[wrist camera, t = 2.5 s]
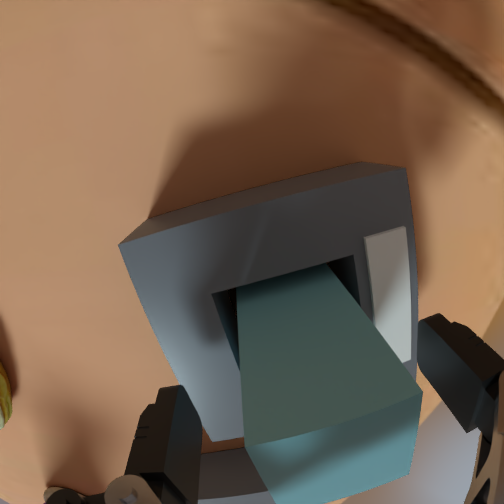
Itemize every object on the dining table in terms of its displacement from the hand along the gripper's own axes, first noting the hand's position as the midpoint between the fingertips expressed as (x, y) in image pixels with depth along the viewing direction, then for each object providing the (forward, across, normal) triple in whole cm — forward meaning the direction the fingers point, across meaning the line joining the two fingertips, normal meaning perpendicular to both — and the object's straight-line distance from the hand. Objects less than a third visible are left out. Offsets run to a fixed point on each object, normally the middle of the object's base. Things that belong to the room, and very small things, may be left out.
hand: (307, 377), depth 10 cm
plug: (+6, 0, 0) cm, 6 cm away
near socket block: (+6, 0, 0) cm, 6 cm away
